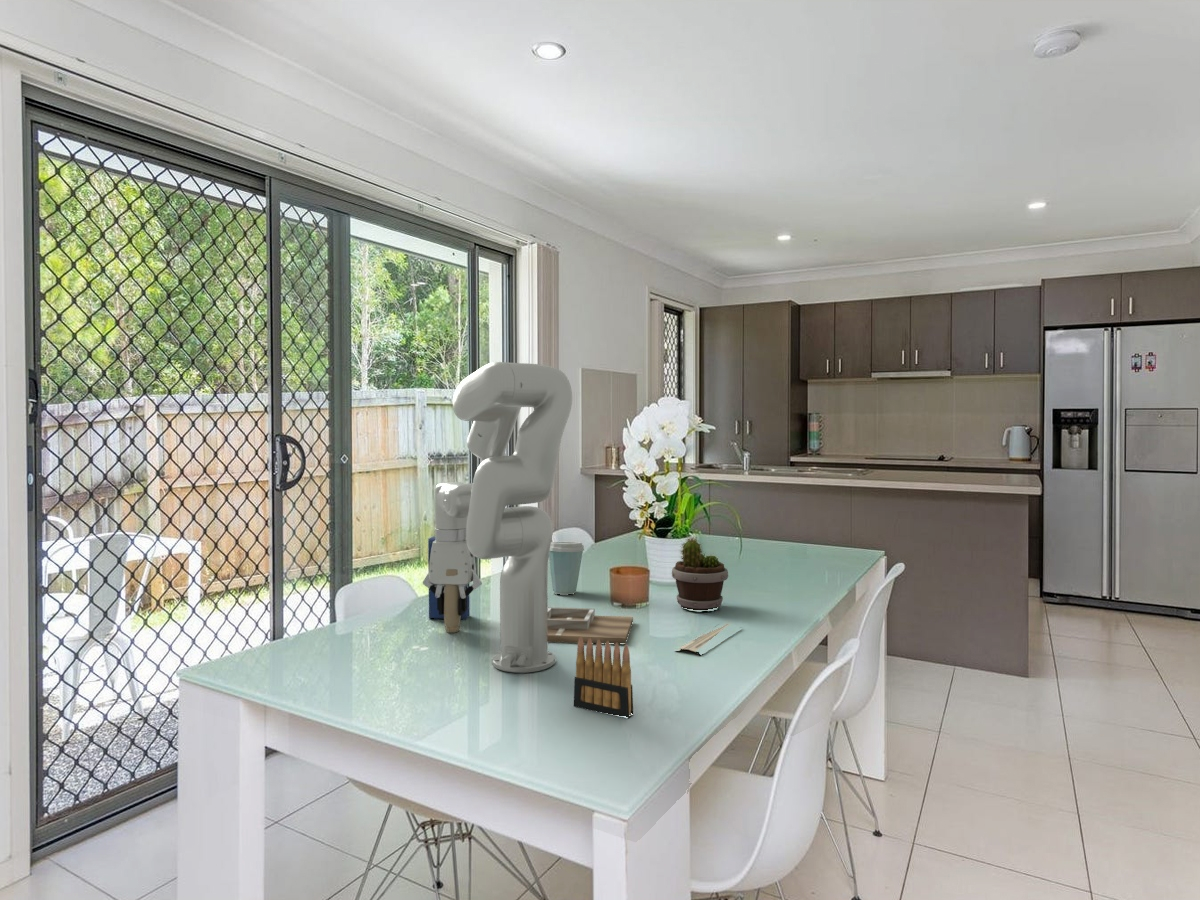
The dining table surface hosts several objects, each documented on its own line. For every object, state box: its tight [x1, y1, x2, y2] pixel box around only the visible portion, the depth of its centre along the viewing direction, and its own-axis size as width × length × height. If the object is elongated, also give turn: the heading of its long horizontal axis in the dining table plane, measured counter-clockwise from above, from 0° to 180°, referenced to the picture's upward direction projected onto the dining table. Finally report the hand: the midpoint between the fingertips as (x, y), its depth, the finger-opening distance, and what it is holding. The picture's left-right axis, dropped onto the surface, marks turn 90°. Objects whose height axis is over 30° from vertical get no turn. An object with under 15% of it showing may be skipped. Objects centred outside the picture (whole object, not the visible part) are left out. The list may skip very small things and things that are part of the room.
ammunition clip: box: [573, 636, 634, 717], centre depth 122 cm, size 11×2×12 cm, turn 59°
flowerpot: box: [671, 534, 729, 610], centre depth 191 cm, size 14×15×20 cm
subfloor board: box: [548, 606, 634, 644], centre depth 169 cm, size 18×22×4 cm
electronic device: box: [427, 536, 471, 620], centre depth 182 cm, size 10×5×20 cm, turn 84°
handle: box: [443, 569, 462, 634], centre depth 169 cm, size 5×6×15 cm
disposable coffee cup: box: [548, 540, 585, 596], centre depth 208 cm, size 11×11×15 cm
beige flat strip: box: [678, 622, 732, 653], centre depth 163 cm, size 24×7×2 cm, turn 148°
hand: (452, 613), depth 169 cm, fingers closed on handle, 4 cm apart
